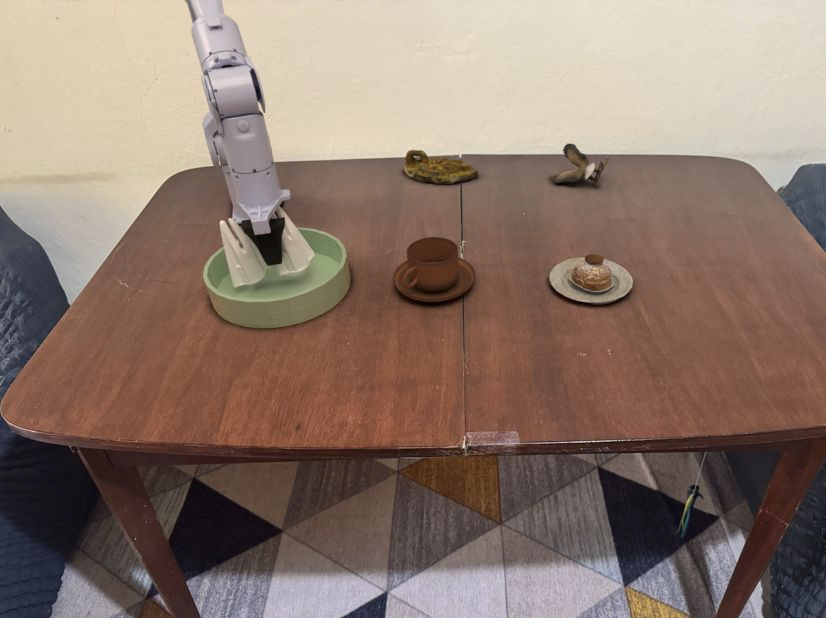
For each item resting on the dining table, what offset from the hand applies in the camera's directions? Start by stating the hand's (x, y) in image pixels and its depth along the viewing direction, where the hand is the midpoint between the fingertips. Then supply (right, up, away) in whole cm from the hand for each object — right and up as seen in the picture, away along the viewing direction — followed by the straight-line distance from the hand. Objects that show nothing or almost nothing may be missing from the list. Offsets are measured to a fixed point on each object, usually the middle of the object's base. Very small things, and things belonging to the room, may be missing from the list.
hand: (274, 255), depth 92 cm
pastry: (+46, -4, +2) cm, 46 cm away
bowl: (0, -4, +3) cm, 6 cm away
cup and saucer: (+23, -4, +3) cm, 24 cm away
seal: (+23, +21, +33) cm, 45 cm away
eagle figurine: (+49, +18, +29) cm, 59 cm away
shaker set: (0, -3, +2) cm, 4 cm away
